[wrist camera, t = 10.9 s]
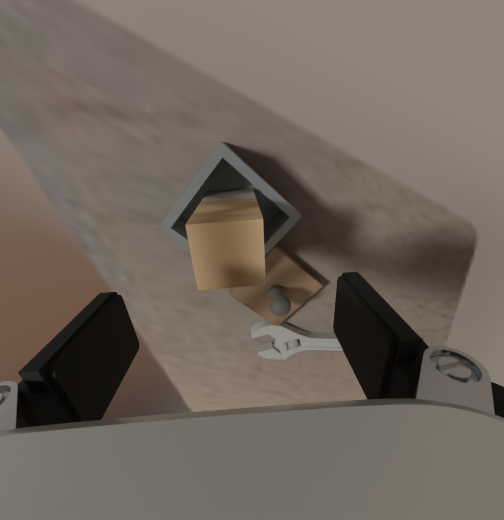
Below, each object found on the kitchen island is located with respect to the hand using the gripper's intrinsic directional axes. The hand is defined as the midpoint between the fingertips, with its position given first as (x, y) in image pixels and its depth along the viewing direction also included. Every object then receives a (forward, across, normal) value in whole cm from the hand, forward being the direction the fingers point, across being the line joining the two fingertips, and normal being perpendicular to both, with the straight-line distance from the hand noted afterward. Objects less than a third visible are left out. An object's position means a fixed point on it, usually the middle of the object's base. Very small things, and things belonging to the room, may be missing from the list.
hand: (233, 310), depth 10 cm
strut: (+16, +1, -1) cm, 16 cm away
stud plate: (+17, -4, +9) cm, 19 cm away
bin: (+17, +1, -1) cm, 17 cm away
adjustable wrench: (+18, -12, +20) cm, 29 cm away
